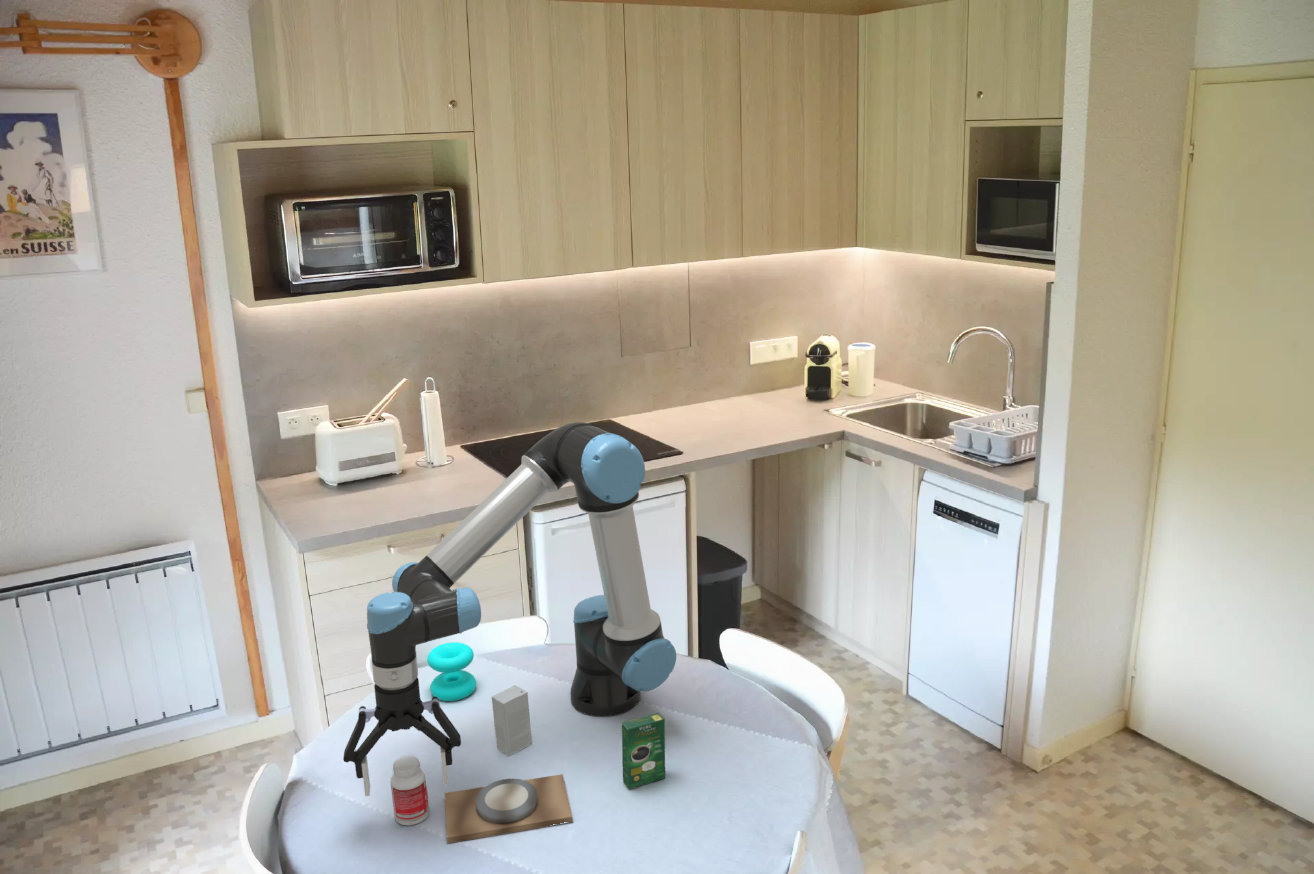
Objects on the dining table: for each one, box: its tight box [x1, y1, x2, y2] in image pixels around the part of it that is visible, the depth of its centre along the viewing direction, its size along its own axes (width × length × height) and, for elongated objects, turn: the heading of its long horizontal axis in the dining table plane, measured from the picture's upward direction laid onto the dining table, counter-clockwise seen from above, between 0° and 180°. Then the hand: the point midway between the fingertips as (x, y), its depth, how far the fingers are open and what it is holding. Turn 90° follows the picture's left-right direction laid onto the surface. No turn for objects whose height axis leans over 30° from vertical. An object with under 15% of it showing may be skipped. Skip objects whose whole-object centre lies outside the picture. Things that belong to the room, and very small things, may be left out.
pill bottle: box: [389, 755, 430, 826], centre depth 186 cm, size 6×6×11 cm
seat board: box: [444, 773, 574, 844], centre depth 188 cm, size 22×13×3 cm, turn 103°
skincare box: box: [491, 684, 533, 757], centre depth 206 cm, size 6×4×12 cm
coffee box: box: [621, 712, 666, 790], centre depth 194 cm, size 8×3×13 cm, turn 116°
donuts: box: [426, 641, 477, 702], centre depth 227 cm, size 10×10×10 cm
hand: (406, 786), depth 186 cm, fingers open, 13 cm apart
